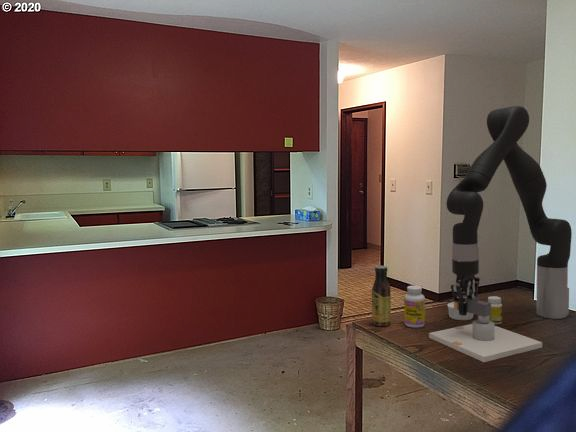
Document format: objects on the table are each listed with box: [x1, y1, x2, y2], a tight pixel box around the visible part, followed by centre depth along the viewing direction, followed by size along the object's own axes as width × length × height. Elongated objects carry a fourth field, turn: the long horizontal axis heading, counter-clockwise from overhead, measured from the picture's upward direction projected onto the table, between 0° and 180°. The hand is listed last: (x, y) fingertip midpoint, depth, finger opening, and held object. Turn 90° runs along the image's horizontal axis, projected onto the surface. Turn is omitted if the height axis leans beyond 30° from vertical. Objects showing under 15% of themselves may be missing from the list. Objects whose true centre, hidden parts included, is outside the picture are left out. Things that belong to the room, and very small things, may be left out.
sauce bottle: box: [371, 265, 392, 327], centre depth 165 cm, size 7×6×20 cm
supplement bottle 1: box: [403, 285, 426, 329], centre depth 164 cm, size 7×7×13 cm
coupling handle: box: [453, 296, 491, 323], centre depth 148 cm, size 10×3×6 cm, turn 36°
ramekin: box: [447, 301, 475, 321], centre depth 171 cm, size 9×9×4 cm
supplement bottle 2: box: [487, 295, 503, 325], centre depth 163 cm, size 5×5×8 cm
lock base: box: [428, 319, 543, 363], centre depth 146 cm, size 22×22×6 cm
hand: (466, 313), depth 150 cm, fingers closed on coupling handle, 3 cm apart
